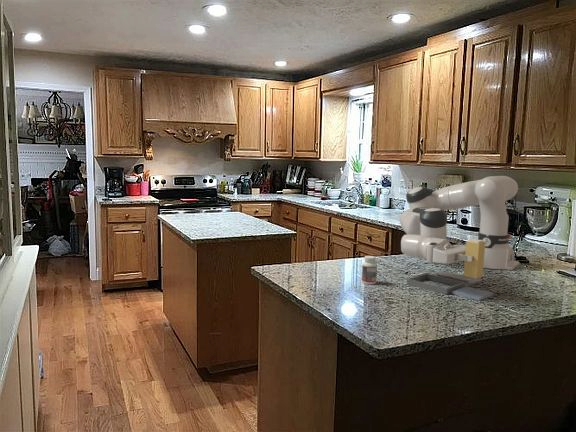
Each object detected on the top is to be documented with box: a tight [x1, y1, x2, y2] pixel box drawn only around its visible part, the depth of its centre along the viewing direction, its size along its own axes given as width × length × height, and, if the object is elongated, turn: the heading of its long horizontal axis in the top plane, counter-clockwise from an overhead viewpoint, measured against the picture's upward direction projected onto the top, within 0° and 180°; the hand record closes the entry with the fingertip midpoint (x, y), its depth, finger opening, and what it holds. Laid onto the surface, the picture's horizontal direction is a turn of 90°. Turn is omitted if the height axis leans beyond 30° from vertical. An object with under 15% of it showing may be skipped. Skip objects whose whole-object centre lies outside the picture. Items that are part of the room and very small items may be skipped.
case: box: [406, 270, 483, 295], centre depth 177 cm, size 26×16×2 cm, turn 132°
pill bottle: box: [361, 255, 378, 285], centre depth 175 cm, size 5×5×10 cm
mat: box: [450, 286, 494, 302], centre depth 164 cm, size 10×10×1 cm
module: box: [463, 238, 485, 279], centre depth 162 cm, size 4×4×13 cm
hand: (477, 257), depth 161 cm, fingers closed on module, 4 cm apart
